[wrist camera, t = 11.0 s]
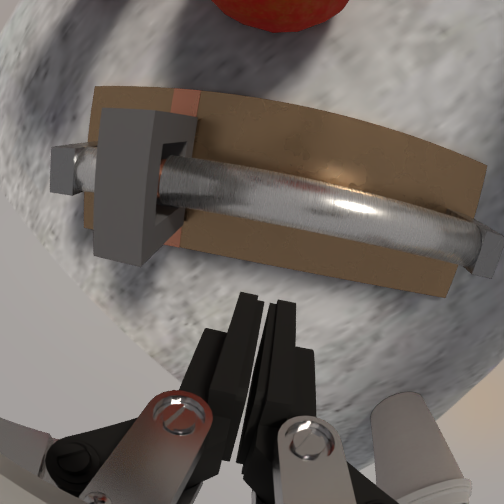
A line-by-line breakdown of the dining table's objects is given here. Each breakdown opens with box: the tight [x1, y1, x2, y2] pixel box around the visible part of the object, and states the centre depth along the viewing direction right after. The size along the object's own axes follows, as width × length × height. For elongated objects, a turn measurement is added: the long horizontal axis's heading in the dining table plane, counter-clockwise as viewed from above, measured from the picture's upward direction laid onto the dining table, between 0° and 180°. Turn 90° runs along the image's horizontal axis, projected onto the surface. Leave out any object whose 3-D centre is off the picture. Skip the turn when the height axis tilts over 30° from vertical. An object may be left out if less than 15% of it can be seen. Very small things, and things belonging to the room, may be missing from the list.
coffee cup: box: [371, 392, 472, 504], centre depth 23 cm, size 10×10×15 cm
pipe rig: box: [50, 86, 504, 298], centre depth 20 cm, size 32×12×7 cm, turn 80°
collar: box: [93, 108, 198, 267], centre depth 19 cm, size 3×8×8 cm, turn 170°
